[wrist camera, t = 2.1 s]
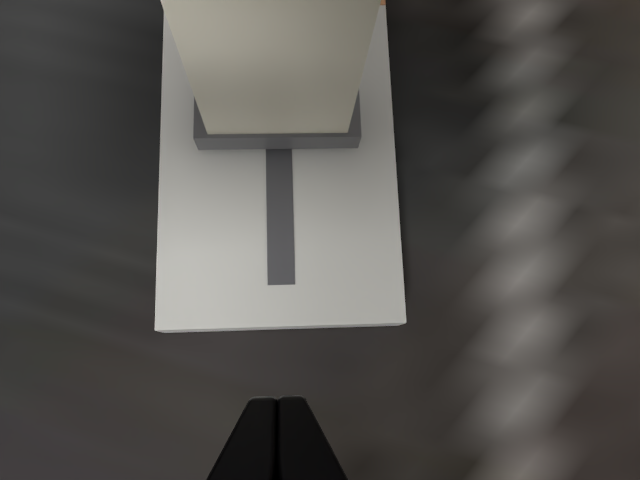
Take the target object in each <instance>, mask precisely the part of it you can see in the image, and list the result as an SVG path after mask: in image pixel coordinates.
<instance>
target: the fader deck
mask: <svg viewBox="0 0 640 480" xmlns="http://www.w3.org/2000/svg"><path fill="white" fill-rule="evenodd" d="M359 97H360V116H361V135H362V137H361V140H360V143H359V146H358V148H326V149H239V150H198V148H197V146H196V144H195V141H194V139H193V126H194V94H193V91H192V89H191V86H190V83H189V80H188V77H187V74H186V72H185V69H184V66H183V63H182V60H181V57H180V55H179V52H178V49H177V46H176V43H175V40H174V38H173V35H172V32H171V29H170V26H169V23H168V21H167V18H166V15H165V12H164V27H163V61H162V96H161V130H160V165H159V199H158V233H157V268H156V302H155V331H159V332H163V333H172V332H205V331H238V330H271V329H303V328H336V327H369V326H399V325H402V324H404V323H406V309H405V293H404V278H403V263H402V248H401V233H400V218H399V202H398V187H397V172H396V157H395V142H394V127H393V111H392V96H391V81H390V66H389V51H388V36H387V20H386V2H385V0H381V3H380V7H379V11H378V15H377V19H376V22H375V26H374V30H373V34H372V38H371V42H370V46H369V50H368V54H367V58H366V62H365V66H364V70H363V74H362V78H361V82H360V86H359Z"/></svg>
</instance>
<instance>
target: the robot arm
mask: <svg viewBox="0 0 640 480" xmlns="http://www.w3.org/2000/svg"><path fill="white" fill-rule="evenodd" d="M207 480H348V478H347V477H346V475H345V473H344V471H343V469H342V467H341V465H340V463H339V461H338V459H337V458H336V456H335V454H334V452H333V450H332V448H331V446H330V444H329V442H328V441H327V439H326V437H325V435H324V433H323V431H322V429H321V427H320V425H319V424H318V422H317V420H316V418H315V416H314V414H313V412H312V410H311V408H310V407H309V405H308V403H307V401H306V399H305V398H304V397H303V396H301V395H290V396H280V397H279V398H278V400H277V399H276V398H275V397H274V396H263V397H252V398H251V399H250V400H249V401H248V403H247V405H246V407H245V409H244V410H243V412H242V414H241V416H240V418H239V420H238V422H237V424H236V425H235V427H234V429H233V431H232V433H231V435H230V437H229V438H228V440H227V442H226V444H225V446H224V448H223V450H222V452H221V453H220V455H219V457H218V459H217V461H216V463H215V465H214V466H213V468H212V470H211V472H210V474H209V476H208V478H207Z"/></svg>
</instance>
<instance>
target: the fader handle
mask: <svg viewBox="0 0 640 480" xmlns="http://www.w3.org/2000/svg"><path fill="white" fill-rule="evenodd" d="M160 1H161V4H162V6H163V9H164V12H165V15H166V18H167V21H168V23H169V26H170V29H171V32H172V35H173V38H174V40H175V43H176V46H177V49H178V52H179V55H180V57H181V60H182V63H183V66H184V69H185V72H186V74H187V77H188V80H189V83H190V86H191V89H192V91H193V94H194V126H193V139H194V141H195V144H196V146H197V148H198V150H239V149H326V148H358V146H359V143H360V140H361V137H362V135H361V116H360V97H359V86H360V82H361V78H362V74H363V70H364V66H365V62H366V58H367V54H368V50H369V46H370V42H371V38H372V34H373V30H374V26H375V22H376V19H377V15H378V11H379V7H380V3H381V0H160Z"/></svg>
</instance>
